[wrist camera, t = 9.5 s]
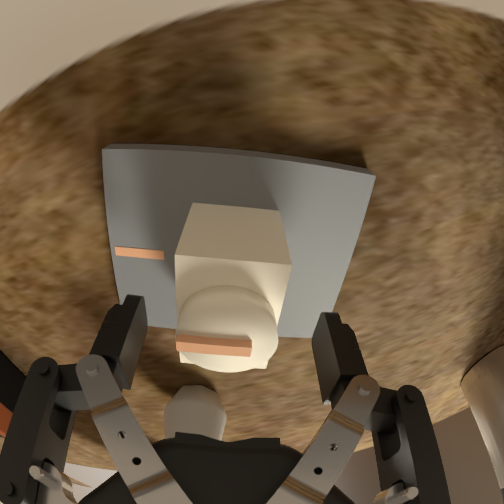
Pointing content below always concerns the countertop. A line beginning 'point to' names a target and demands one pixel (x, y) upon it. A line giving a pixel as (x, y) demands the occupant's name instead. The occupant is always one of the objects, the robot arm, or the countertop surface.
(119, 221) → the plate
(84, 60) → the countertop surface
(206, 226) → the knob
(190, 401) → the salt shaker
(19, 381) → the battery
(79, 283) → the countertop surface
